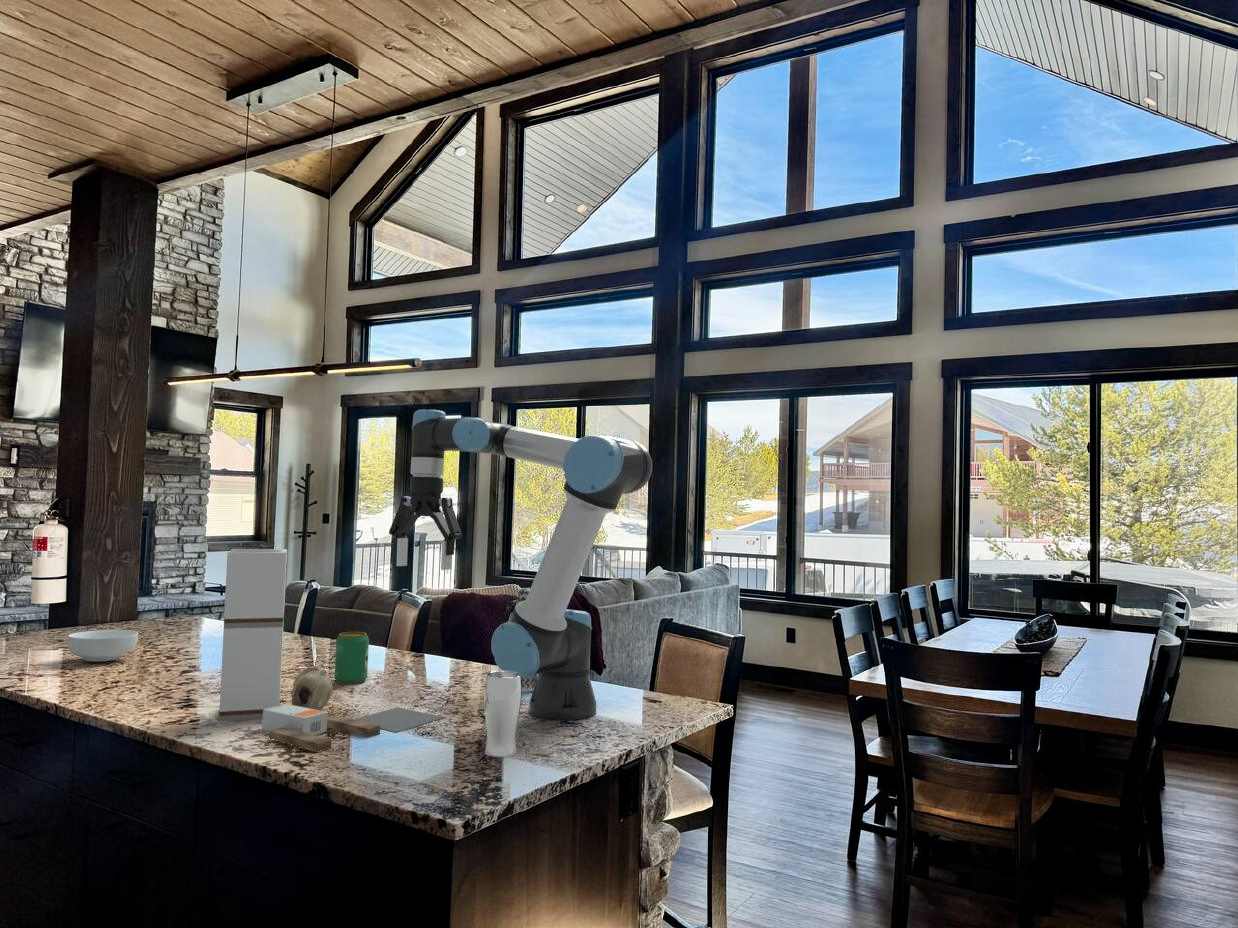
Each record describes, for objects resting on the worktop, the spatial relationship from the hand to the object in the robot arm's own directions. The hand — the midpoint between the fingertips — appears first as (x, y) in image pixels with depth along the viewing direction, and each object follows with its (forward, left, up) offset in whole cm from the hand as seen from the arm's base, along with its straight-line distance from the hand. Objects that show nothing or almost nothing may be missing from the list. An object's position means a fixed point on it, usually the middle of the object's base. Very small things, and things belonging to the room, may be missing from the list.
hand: (423, 567), depth 191 cm
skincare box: (-3, +31, -29) cm, 42 cm away
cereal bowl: (+104, +16, -31) cm, 110 cm away
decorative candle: (-10, -28, -31) cm, 44 cm away
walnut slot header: (-5, +31, -31) cm, 44 cm away
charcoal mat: (-7, +14, -31) cm, 35 cm away
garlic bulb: (+13, +20, -31) cm, 39 cm away
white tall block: (+22, +28, -31) cm, 47 cm away
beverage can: (+30, -6, -31) cm, 44 cm away
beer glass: (-39, +19, -31) cm, 54 cm away
